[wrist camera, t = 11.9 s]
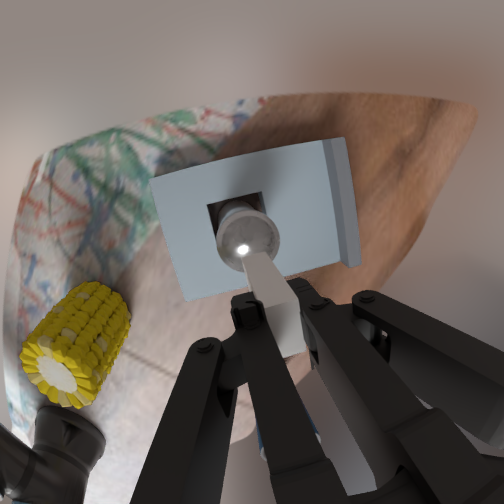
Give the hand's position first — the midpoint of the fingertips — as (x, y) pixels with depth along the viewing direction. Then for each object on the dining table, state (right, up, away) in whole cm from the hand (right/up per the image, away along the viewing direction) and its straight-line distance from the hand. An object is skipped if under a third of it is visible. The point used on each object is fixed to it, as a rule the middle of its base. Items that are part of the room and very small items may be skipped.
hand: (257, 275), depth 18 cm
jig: (0, +6, +16) cm, 17 cm away
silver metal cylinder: (-2, +5, +15) cm, 16 cm away
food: (-21, -7, +17) cm, 27 cm away
